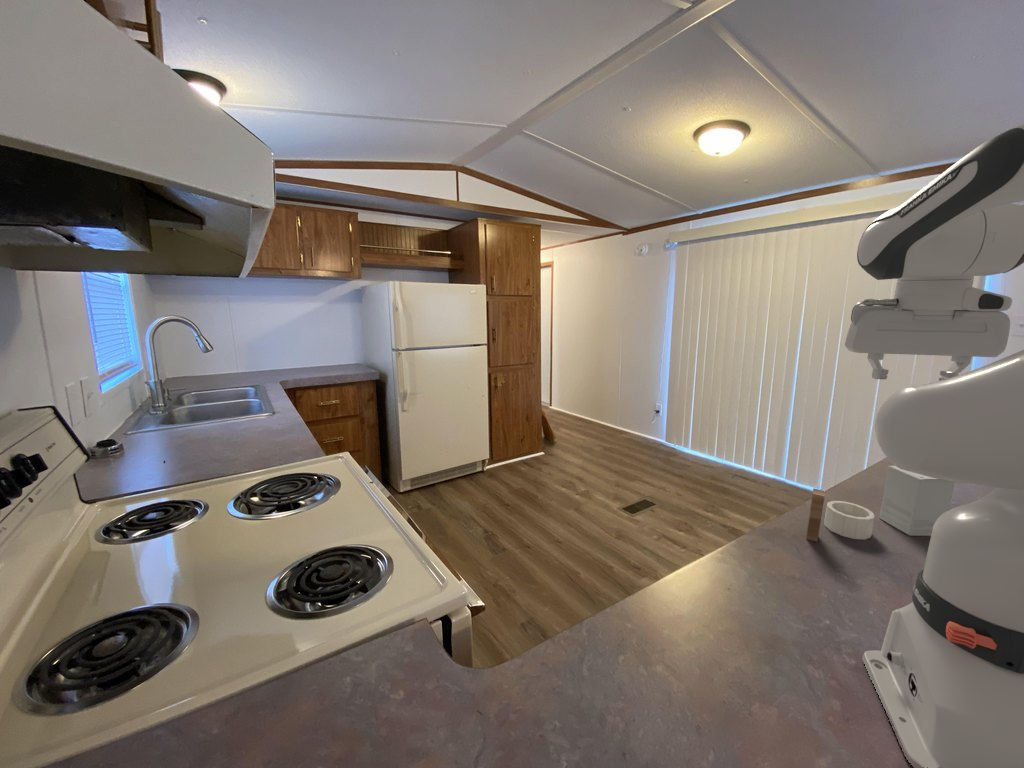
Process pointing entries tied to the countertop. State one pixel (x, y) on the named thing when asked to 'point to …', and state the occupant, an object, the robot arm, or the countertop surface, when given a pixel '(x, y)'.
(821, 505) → the brown rectangular block
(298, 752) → the countertop surface
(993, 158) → the robot arm
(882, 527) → the countertop surface
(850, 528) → the faceted white cup
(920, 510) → the supplement box
